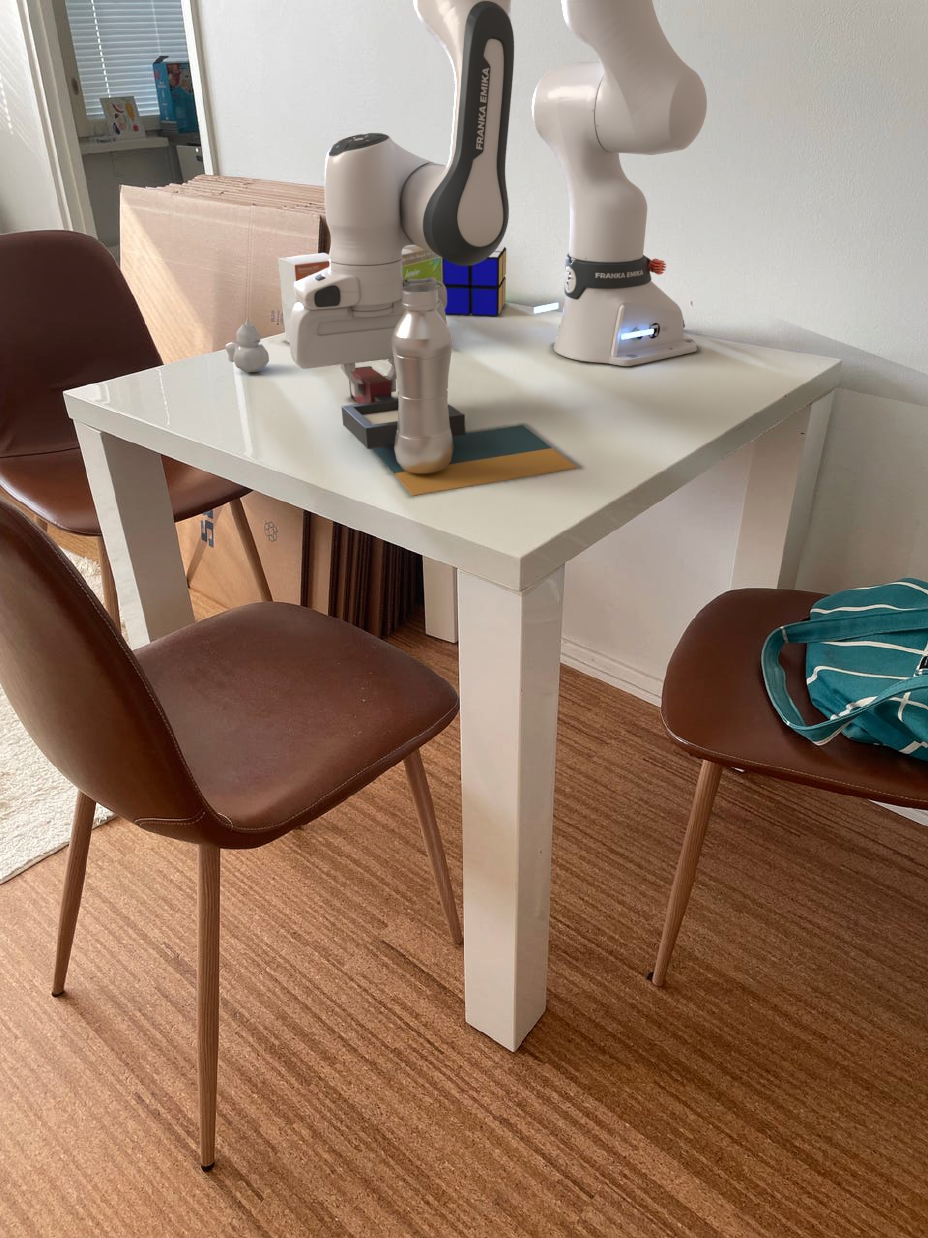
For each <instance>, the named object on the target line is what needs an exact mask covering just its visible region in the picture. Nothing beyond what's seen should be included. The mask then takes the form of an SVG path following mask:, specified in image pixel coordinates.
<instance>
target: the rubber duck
mask: <svg viewBox="0 0 928 1238" xmlns="http://www.w3.org/2000/svg"><path fill="white" fill-rule="evenodd" d="M261 338H262V335H261V334H260V332H258V330H257V329H256V327H255V325H254V324H252V323H251V322H250V319H249V316H247V317H246V320H245V323H244V322H243V323H242V324H241V326H240V327H239V328H238V330H237V331H236V342H237V343H236V342H229V343H227V344H225V346H224V347H225V351H226V353H227V355H228V361H229V362H231V363H234V365H235V367H236V368H237V369H240V370H241V371H244V372H246V373H247V372H248V373H257V372H259V371H261V370H263V369H264V368H265V367H266V366H267V365H268V363H269V362H270V357H269V352H268V350H267V349H266V348H265V347H264V344H262V343H260V342H261Z"/></svg>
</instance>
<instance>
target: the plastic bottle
mask: <svg viewBox="0 0 928 1238" xmlns="http://www.w3.org/2000/svg"><path fill="white" fill-rule="evenodd" d="M438 307H439V301H438V290H437V287H435V286H432V285H410V286H405V287H403V288H402V308H404V309H405V313H404V314H403V316H402V317H401V319H400V320H399V322H398V323H397V325H396V327H395V329H394V331H393V334H392V338H391V346H392V351H393V352H392V353H393V358H394V364H395V370H396V375H397V379H396V388H397V390H398V392H397V397H398V398H397V399H399V405H398V425H397V428H398V429H397V432H396V437H395V446H394V450H395V454H396V459H397V462H398V463H399V465H400V466H401V467H402V468H403V469H404V470H406V471H408V472H412V473H434V472H438V471H441V470H443V469H445V468H446V467H447V466H448V464H449V463H450V462H451V460H452V454H453V449H454V446H453V438H452V433H451V429H450V423H449V412H448V404H449V402H448V401H449V400H448V399H449V398H448V397H449V391H448V389H449V374H450V367H451V359H452V352H453V351H452V350H453V341H454V338H453V335H452V331H451V329H450V327H449V326H448V324H447V325H446V323H445V321H444V320H443V319H442V318H441V316H440V315H439V314H438V312H437V308H438Z"/></svg>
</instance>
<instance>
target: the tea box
mask: <svg viewBox="0 0 928 1238" xmlns="http://www.w3.org/2000/svg"><path fill="white" fill-rule="evenodd" d="M402 269H403V280H408V279H425V278H435V279H436V280H437V281H440V282H442V257H440V256H439V255H437V254H435V253H433V252H430V251H427V250H425V249H422V248H420V247H418V246H416V245H407V246H405V247H404V248H403V250H402ZM436 286H440V285H439V284H436Z"/></svg>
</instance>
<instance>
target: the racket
mask: <svg viewBox="0 0 928 1238" xmlns="http://www.w3.org/2000/svg"><path fill="white" fill-rule="evenodd" d="M351 372H352V374H353V375H354V377H355V378H356V380H357V379H361V380H362V381H363V382H364V383H365V389H364V390H365V395H364V396H358V397H354V396H353V395H352V392H351V382H350V380H349V379H348V383H349V394H350V399H351V400H354V401H355V402H357V403H356V404H347V405H341V414H342V416H341V417H342V425H343V427H344V428H346V430H348V431H349V432H350V434H352V435H353V436H354V437H355V438H356V439H357V440H358V441H359V442H360V443H361V444H362V445H363V446H364V447H365V448H366V449H367V450H369V449H373V448H376V447H383V446H390V445H395V437H396V432H397V429H398V428H397V425H398V405H399V399H398V398H394V397H393V396H392V392H391V382H390V380H388V379H387V378H385V377H384V376H385V375H382V374H381V373H380V372H378V371H376V369H374V368H373V366H372V365H367V366H358V367H355V371H351ZM448 412H449V423H450V429H451V433H452V436H458V435H465V434H466V419H465V417H466V415H465V414H464V413H463V412H461V411H459V410H458V409H457V408H455V407H454V406H452V405H450V404H449V403H448Z"/></svg>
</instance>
